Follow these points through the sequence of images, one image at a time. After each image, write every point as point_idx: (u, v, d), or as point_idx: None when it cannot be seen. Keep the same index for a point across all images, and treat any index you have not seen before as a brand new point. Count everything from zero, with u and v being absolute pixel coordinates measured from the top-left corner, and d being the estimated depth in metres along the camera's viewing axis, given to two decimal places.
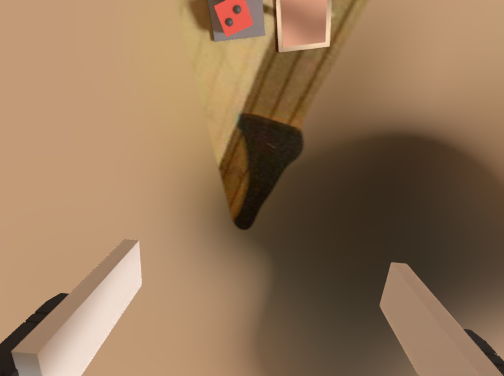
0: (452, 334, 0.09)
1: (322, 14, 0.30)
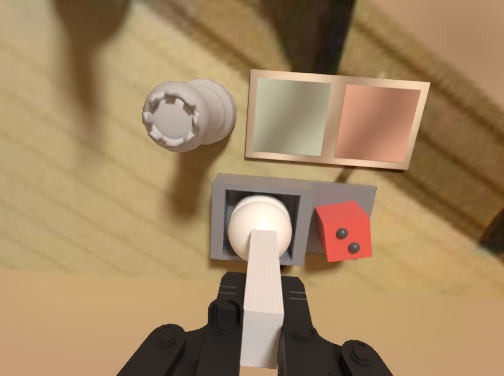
0: (268, 276, 0.12)
1: (377, 93, 0.18)
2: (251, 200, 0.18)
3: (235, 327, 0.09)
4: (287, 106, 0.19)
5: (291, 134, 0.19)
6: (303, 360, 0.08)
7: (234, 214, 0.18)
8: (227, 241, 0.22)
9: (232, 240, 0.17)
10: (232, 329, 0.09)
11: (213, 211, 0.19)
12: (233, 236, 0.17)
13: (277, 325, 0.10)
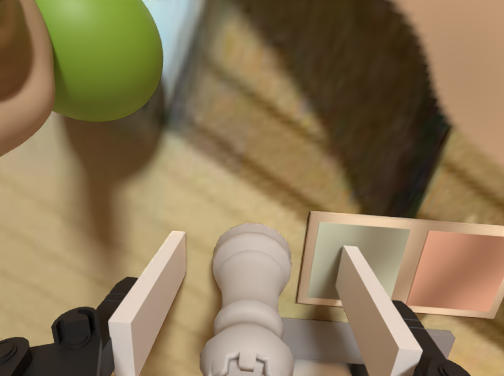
0: (378, 301, 0.11)
1: (465, 241, 0.15)
2: (311, 371, 0.15)
3: (91, 336, 0.08)
4: None
5: None
6: None
7: None
8: None
9: None
10: (87, 340, 0.08)
11: None
12: None
13: (412, 362, 0.09)
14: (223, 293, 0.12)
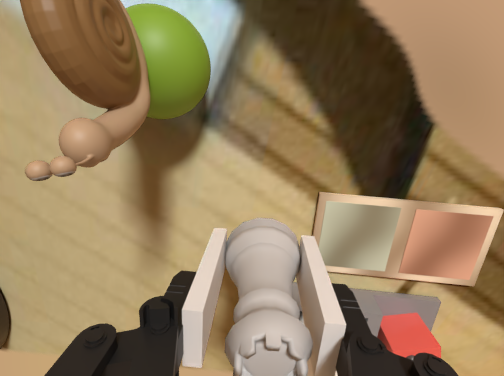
0: (319, 284, 0.12)
1: (447, 218, 0.18)
2: None
3: (170, 325, 0.09)
4: (354, 226, 0.19)
5: (356, 251, 0.19)
6: (370, 373, 0.08)
7: None
8: None
9: None
10: (167, 328, 0.09)
11: None
12: None
13: (338, 336, 0.10)
14: (240, 283, 0.13)
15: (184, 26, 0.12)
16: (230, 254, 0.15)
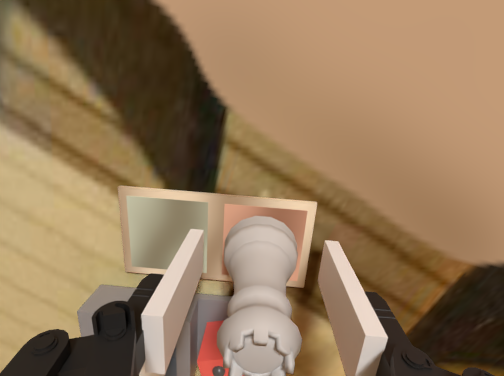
0: (351, 293, 0.11)
1: (259, 213, 0.16)
2: None
3: (127, 330, 0.09)
4: (163, 224, 0.17)
5: (171, 251, 0.17)
6: None
7: None
8: None
9: None
10: (123, 333, 0.09)
11: None
12: None
13: (379, 349, 0.09)
14: (235, 280, 0.13)
15: None
16: (228, 251, 0.15)
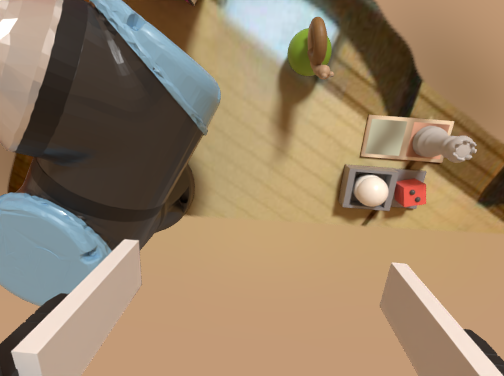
0: (452, 334, 0.09)
1: None
2: (368, 176, 0.39)
3: None
4: (385, 132, 0.39)
5: (385, 145, 0.40)
6: None
7: (361, 183, 0.38)
8: None
9: (362, 194, 0.38)
10: None
11: (348, 182, 0.39)
12: (363, 192, 0.38)
13: None
14: (435, 141, 0.35)
15: (327, 37, 0.32)
16: (422, 137, 0.37)
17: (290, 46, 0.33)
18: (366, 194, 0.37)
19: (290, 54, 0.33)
